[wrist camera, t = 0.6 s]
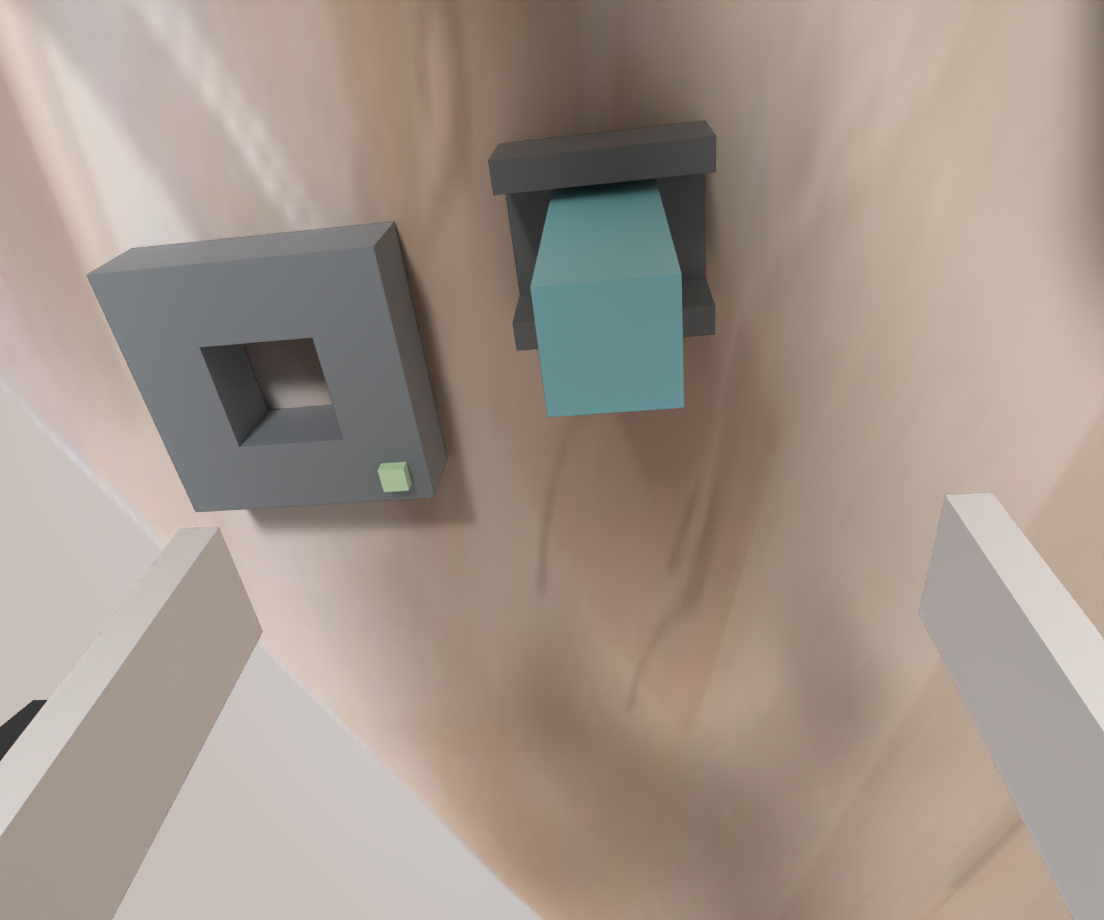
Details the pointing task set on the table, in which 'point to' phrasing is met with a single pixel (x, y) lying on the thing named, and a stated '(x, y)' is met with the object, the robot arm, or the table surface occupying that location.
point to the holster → (608, 159)
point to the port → (271, 315)
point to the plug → (608, 302)
